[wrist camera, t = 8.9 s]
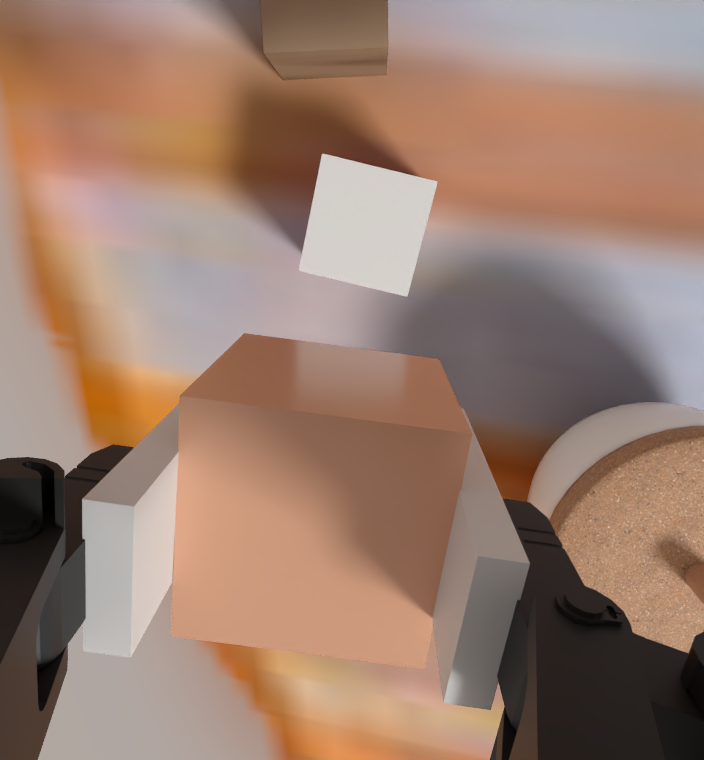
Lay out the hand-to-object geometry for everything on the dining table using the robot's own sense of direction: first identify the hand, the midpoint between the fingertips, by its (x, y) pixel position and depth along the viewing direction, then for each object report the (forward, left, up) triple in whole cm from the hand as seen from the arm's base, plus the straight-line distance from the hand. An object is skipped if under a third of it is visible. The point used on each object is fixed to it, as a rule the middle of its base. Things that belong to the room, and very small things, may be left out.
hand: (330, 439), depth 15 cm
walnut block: (-14, -3, -17) cm, 22 cm away
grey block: (-5, 0, -17) cm, 18 cm away
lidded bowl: (+7, +16, -17) cm, 24 cm away
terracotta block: (0, 0, 0) cm, 0 cm away
